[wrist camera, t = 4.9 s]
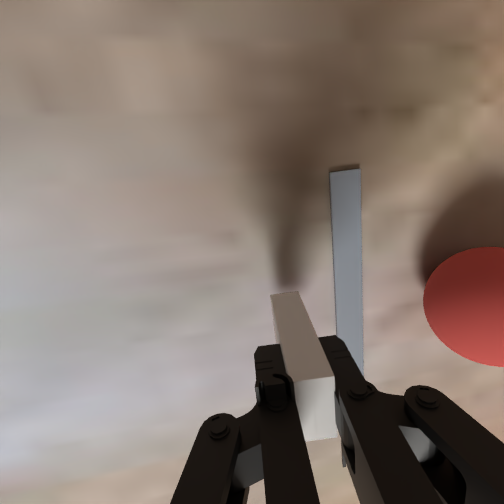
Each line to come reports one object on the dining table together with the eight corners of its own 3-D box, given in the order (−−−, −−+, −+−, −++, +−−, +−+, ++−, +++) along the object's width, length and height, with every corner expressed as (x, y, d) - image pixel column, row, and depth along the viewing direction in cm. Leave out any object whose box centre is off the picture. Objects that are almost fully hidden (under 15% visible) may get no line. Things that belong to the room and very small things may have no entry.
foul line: (329, 172, 17) (330, 173, 16) (359, 168, 17) (360, 168, 16) (338, 385, 21) (339, 387, 21) (362, 381, 21) (363, 384, 21)
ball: (557, 233, 16) (425, 231, 19) (617, 280, 11) (427, 269, 14) (538, 332, 18) (420, 318, 21) (582, 410, 13) (420, 378, 16)
